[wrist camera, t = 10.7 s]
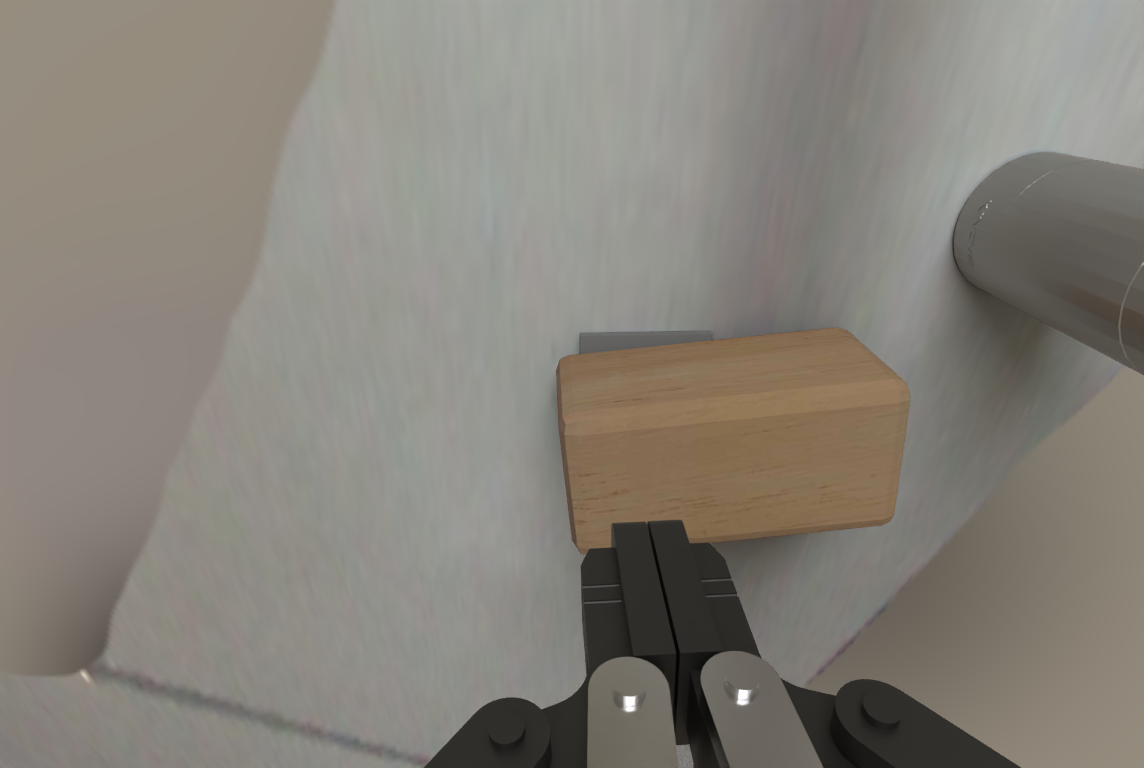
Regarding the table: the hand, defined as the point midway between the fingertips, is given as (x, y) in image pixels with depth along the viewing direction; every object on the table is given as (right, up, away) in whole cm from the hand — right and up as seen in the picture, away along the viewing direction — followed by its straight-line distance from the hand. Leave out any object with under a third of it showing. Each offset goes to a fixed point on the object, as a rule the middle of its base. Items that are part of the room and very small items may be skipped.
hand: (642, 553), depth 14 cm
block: (-2, -1, +29) cm, 29 cm away
